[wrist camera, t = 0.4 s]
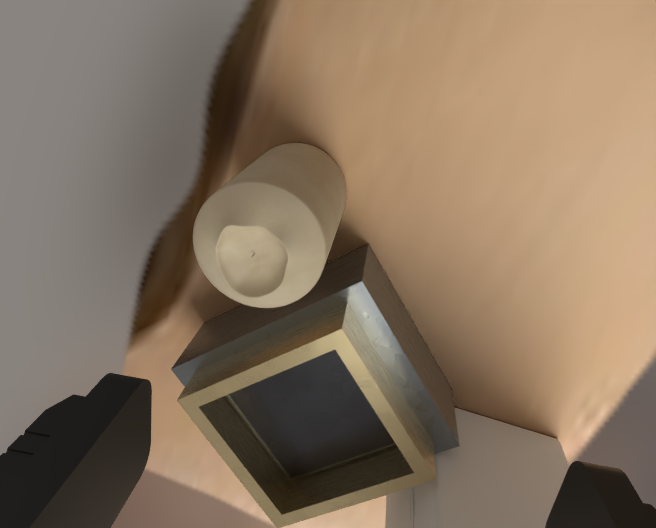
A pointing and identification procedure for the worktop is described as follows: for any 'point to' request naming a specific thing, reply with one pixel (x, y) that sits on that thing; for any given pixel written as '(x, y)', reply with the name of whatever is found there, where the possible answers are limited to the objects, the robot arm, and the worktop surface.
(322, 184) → the candle
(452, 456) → the tall white carton
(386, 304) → the grey open box
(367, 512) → the worktop surface
